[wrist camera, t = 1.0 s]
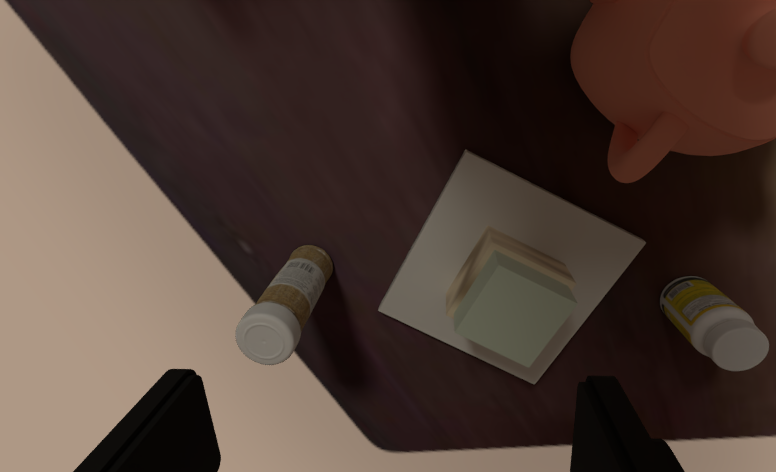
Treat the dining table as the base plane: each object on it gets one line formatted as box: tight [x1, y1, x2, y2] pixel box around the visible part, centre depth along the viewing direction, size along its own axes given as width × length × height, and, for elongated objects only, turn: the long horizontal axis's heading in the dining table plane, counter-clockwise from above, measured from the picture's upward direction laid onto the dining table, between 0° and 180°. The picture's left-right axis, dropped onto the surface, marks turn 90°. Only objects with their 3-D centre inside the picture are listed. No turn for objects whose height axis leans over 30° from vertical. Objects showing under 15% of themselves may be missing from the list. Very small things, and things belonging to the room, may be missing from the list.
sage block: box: [454, 250, 578, 368], centre depth 37 cm, size 7×7×3 cm
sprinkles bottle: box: [236, 245, 333, 365], centre depth 39 cm, size 5×5×14 cm
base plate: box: [378, 149, 646, 385], centre depth 43 cm, size 18×18×1 cm
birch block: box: [446, 226, 577, 319], centre depth 41 cm, size 8×8×4 cm
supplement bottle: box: [660, 276, 769, 371], centre depth 38 cm, size 5×5×8 cm
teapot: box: [570, 0, 776, 183], centre depth 28 cm, size 16×17×14 cm
